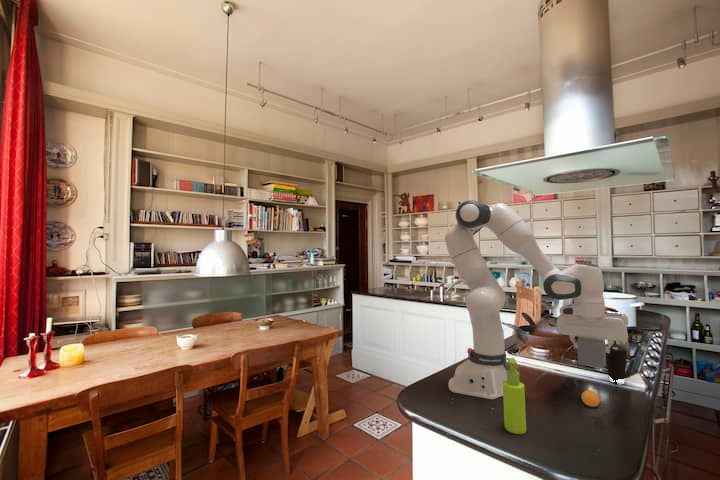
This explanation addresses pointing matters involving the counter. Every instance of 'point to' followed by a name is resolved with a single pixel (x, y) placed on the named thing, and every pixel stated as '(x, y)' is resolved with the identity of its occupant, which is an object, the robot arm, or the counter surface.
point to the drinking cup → (616, 361)
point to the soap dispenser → (514, 401)
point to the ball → (590, 398)
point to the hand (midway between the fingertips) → (591, 350)
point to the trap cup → (591, 352)
